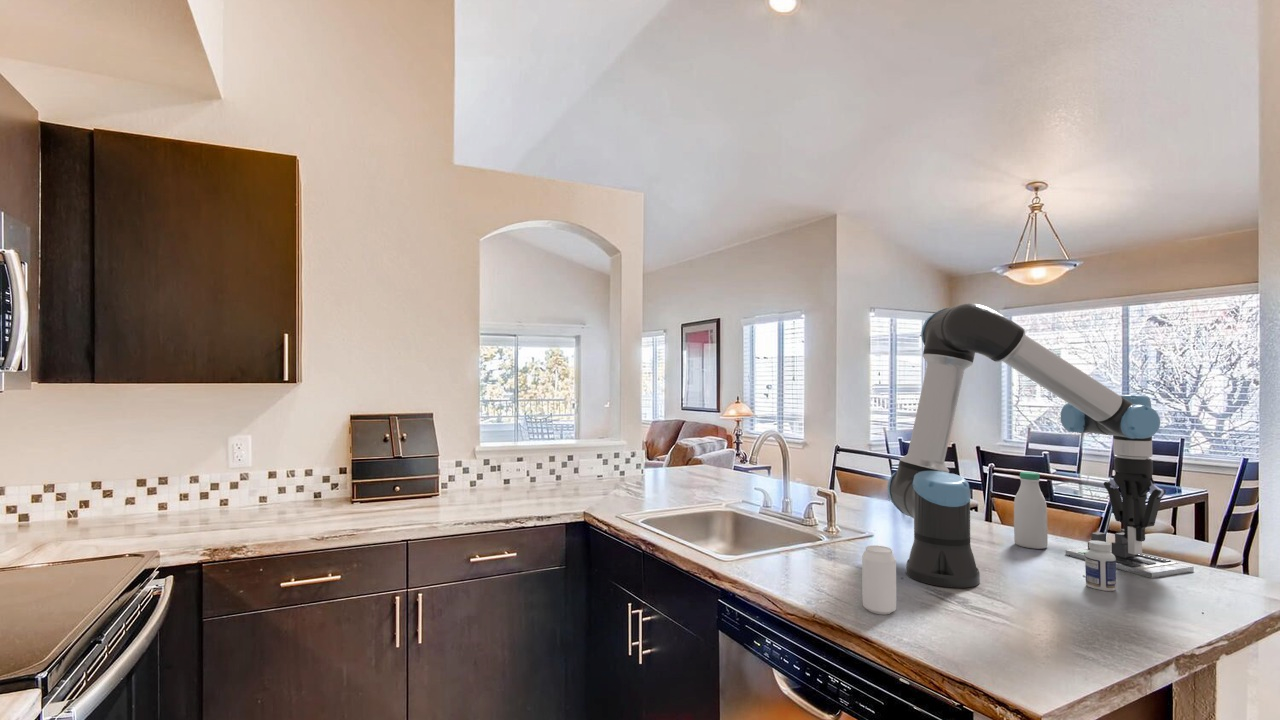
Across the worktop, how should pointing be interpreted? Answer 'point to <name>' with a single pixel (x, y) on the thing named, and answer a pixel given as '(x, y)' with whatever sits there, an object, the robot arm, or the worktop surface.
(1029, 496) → the milk bottle
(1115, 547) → the handle mid
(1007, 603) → the worktop surface
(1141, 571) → the panel
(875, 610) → the beverage can
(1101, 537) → the handle left
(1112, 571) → the pill bottle
